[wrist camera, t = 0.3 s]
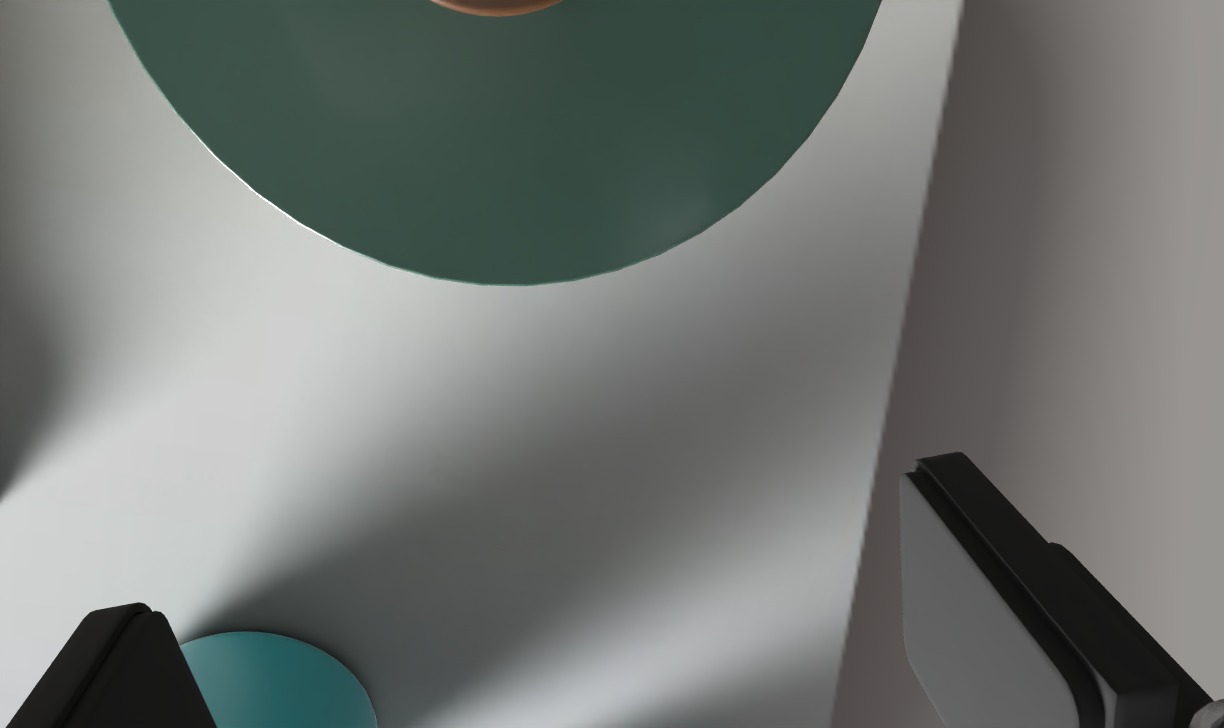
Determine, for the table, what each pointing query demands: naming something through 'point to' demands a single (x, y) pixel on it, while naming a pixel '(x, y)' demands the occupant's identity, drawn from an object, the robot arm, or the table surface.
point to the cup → (275, 683)
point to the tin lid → (501, 117)
